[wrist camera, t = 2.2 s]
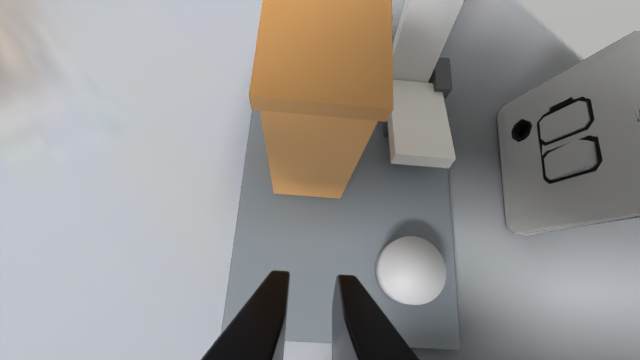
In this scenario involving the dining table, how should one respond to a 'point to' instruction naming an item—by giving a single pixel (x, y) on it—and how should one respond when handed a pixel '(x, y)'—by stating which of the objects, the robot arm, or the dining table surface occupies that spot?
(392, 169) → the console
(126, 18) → the dining table surface
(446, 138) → the block
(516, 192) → the electrical switch
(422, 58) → the toggle lever
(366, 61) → the slider knob
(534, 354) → the dining table surface
